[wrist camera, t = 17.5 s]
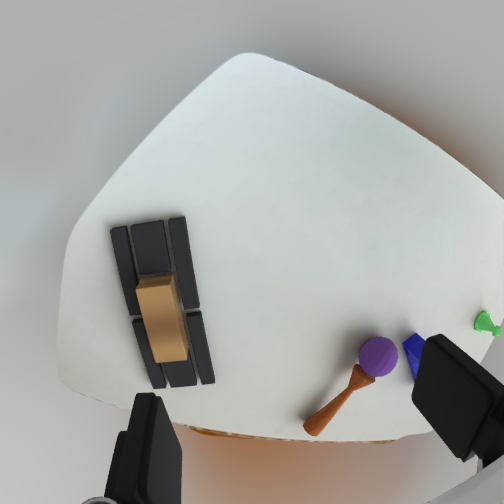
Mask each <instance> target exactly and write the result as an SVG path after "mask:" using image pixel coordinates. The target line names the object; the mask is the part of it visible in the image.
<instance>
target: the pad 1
mask: <svg viewBox="0 0 504 504" xmlns="http://www.w3.org/2000/svg"><path fill="white" fill-rule="evenodd" d="M168 224H169V230H170V236H171V242H172V248H173V254H174V259H175V265H176V270H177V276H178V281H179V286H180V291H181V296H182V301H183V306H184V310H186V309H194V308H199V307H200V303H199V297H198V292H197V286H196V280H195V275H194V269H193V263H192V257H191V251H190V244H189V238H188V231H187V225H186V218H185V217H179V218H172V219H169V220H168ZM110 233H111V238H112V243H113V248H114V253H115V257H116V262H117V266H118V271H119V275H120V279H121V283H122V287H123V291H124V295H125V299H126V303H127V307H128V310H129V314H130V316H132V315H142V313H141V309H140V306H139V302H138V298H137V294H136V290H135V289H136V287H137V286H138V284H139V282H138V278H137V273H136V269H135V264H134V260H133V255H132V250H131V245H130V240H129V234H128V229H127V226H122V227H116V228H112V229H111V230H110ZM131 233H132V238H133V243H134V248H135V253H136V258H137V263H138V268H139V273H140V275H145V274H152V273H160V272H167V271H171V268H172V267H171V262H170V256H169V251H168V245H167V239H166V233H165V227H164V221H163V220H159V221H153V222H146V223H140V224H134V225H132V226H131Z"/></svg>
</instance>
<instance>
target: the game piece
mask: <svg viewBox="0 0 504 504" xmlns="http://www.w3.org/2000/svg"><path fill="white" fill-rule="evenodd" d="M475 330H477V331H479V332H481V331H490V332H492V335H493V336H495V337H498V336H499V335H500V334H501V327H500V326H497V325H496V326H494V324H493V323H492V321H491V319H490V314H489V313H487V312H485V311H483V312H482V313H481V314H479V315H478V317H477V319H476V321H475Z"/></svg>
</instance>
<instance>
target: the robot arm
mask: <svg viewBox="0 0 504 504" xmlns="http://www.w3.org/2000/svg"><path fill="white" fill-rule="evenodd" d="M412 401H413V403H414V405H415V406H416V407H417V408H418V410H419V411H420V412H421V413H422V415H423V416H424V417H425V418H426V420H427V421H428V422H429V423H430V425H431V426H432V427H433V429H434V430H435V431H436V432H437V434H438V435H439V436H440V437H441V438H442V440H443V441H444V443H445V444H446V445H447V446H448V448H449V449H450V450H451V451H452V453H453V454H454V455H455V456H456V457H457V458H461V460H462V461H463V462H466V461H467V460H469V459H470V458H472V457H474V455H475V454H476V455H477V456H478V465H477V474H475V475H474V476H472V477H471V478H469V479H467V480H466V481H464V482H463V483H461V484H460V485H458V486H456V487H454V488H453V489H451V490H450V491H448V492H446V493H444V494H442V495H440V496H438V497H437V498H435V499H433V500H431V501H429V502H427V503H425V504H504V385H503V384H502V383H500V382H499V381H498V380H497V379H496V378H495V377H494V376H492V375H491V374H490V373H489V372H488V371H487V370H485V369H484V368H483V367H482V366H481V365H479V364H478V363H477V362H476V361H475V360H474V359H472V358H471V357H470V356H469V355H468V354H466V353H465V352H464V351H463V350H461V349H460V348H459V347H458V346H457V345H455V344H454V343H453V342H452V341H450V340H449V339H448V338H447V337H445V336H444V335H443V334H437V335H434V336H432V337H429V338H427V340H426V342H425V343H424V344H423V348H422V353H421V358H420V362H419V367H418V371H417V376H416V380H415V384H414V388H413V392H412ZM181 477H182V449H181V446H180V443H179V441H178V438H177V436H176V434H175V431H174V429H173V426H172V424H171V421H170V419H169V416H168V414H167V411H166V409H165V406H164V403H163V401H162V398H161V397H160V396H156V395H155V394H154V393H153V392H152V393H137V394H136V396H135V400H134V404H133V408H132V412H131V417H130V421H129V425H128V429H127V431H121V432H119V434H118V437H117V441H116V445H115V449H114V453H113V458H112V462H111V466H110V471H109V475H108V479H107V484H106V489H105V494H104V497H93V498H91V499H88V500H86V501H85V502H83V503H82V504H181Z"/></svg>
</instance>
